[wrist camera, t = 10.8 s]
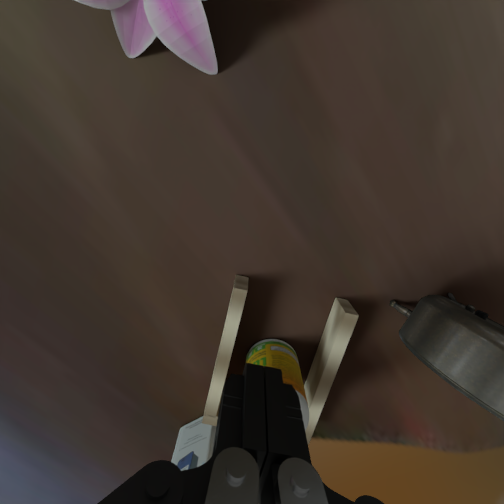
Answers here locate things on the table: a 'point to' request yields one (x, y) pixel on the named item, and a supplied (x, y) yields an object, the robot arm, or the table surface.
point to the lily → (163, 28)
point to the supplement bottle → (281, 366)
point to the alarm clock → (458, 347)
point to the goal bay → (322, 365)
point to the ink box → (194, 445)
